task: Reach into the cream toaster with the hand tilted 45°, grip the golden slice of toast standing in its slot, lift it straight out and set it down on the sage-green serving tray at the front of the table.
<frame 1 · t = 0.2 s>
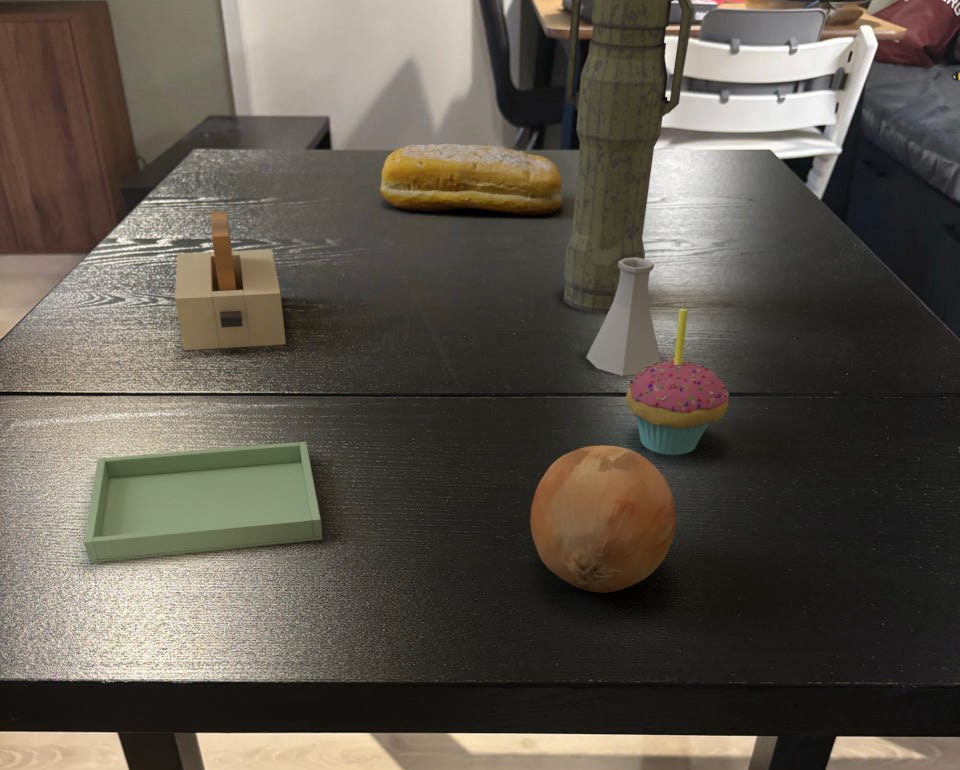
flask: (623, 365, 96), on the table
tray: (208, 510, 72), on the table
toaster: (234, 329, 100), on the table
bread: (470, 209, 139), on the table
toast: (233, 322, 99), point 1 cm above the table, touching toaster
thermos: (600, 303, 109), on the table
onion: (594, 580, 66), on the table
cupcake: (669, 446, 82), on the table
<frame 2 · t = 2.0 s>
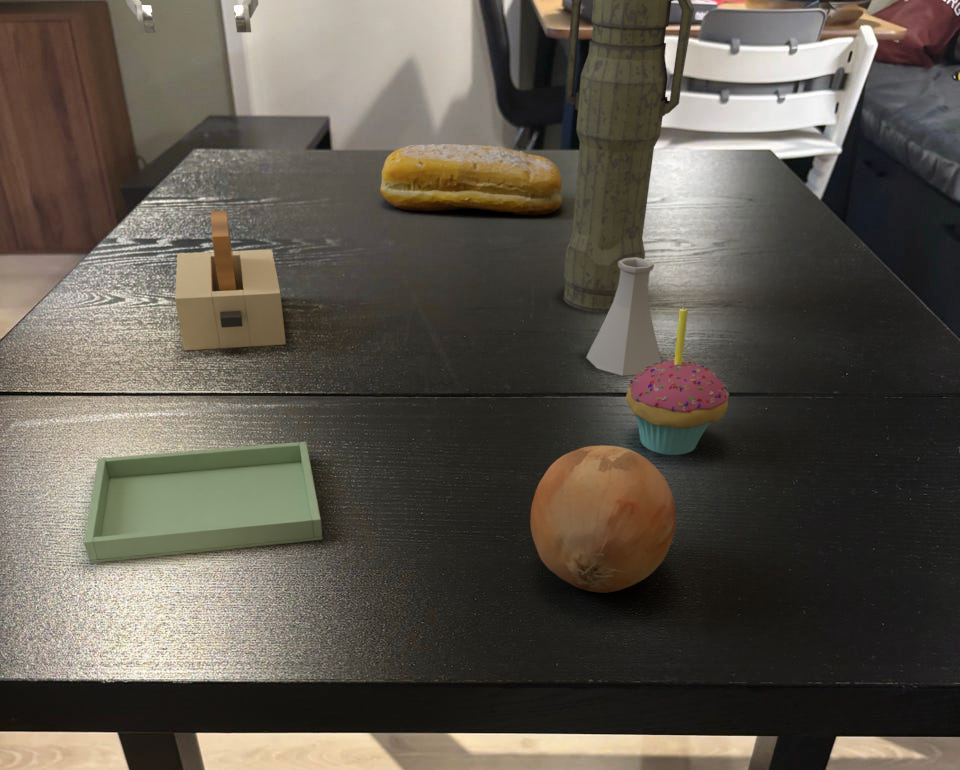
hand: (195, 28, 94), 26 cm above the table, tool tilted 45°, fingers open, 8 cm apart
nothing on the table moved.
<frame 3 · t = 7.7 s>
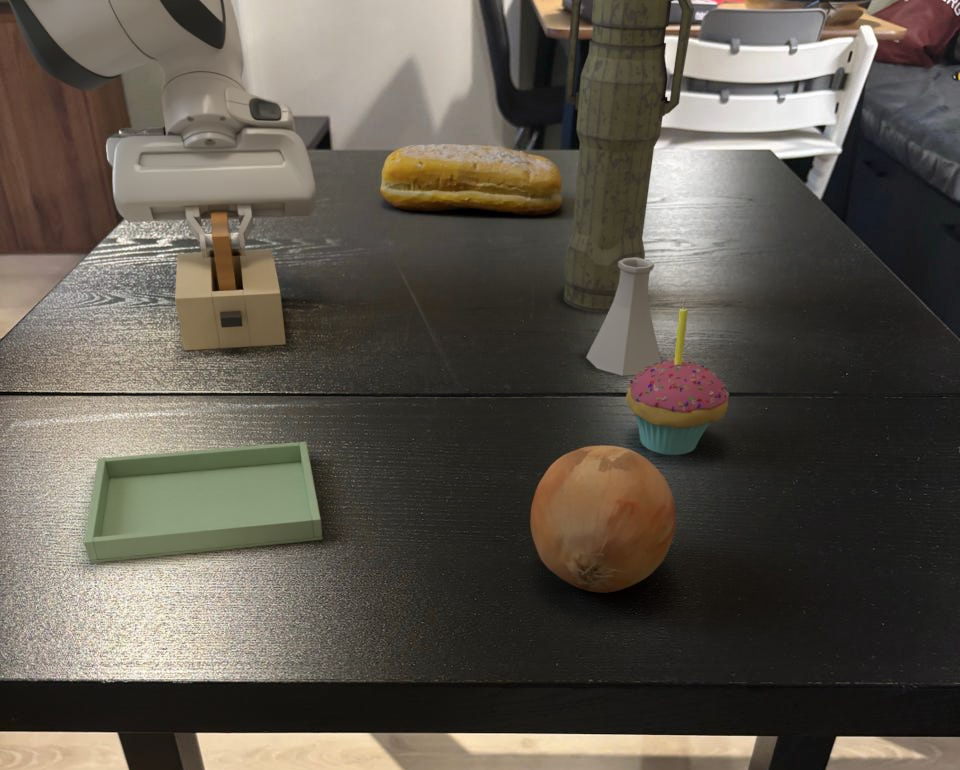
hand: (224, 254, 96), 7 cm above the table, tool tilted 45°, fingers closed on toast, 1 cm apart
toast: (233, 322, 99), point 1 cm above the table, touching gripper, toaster
everything else where it was.
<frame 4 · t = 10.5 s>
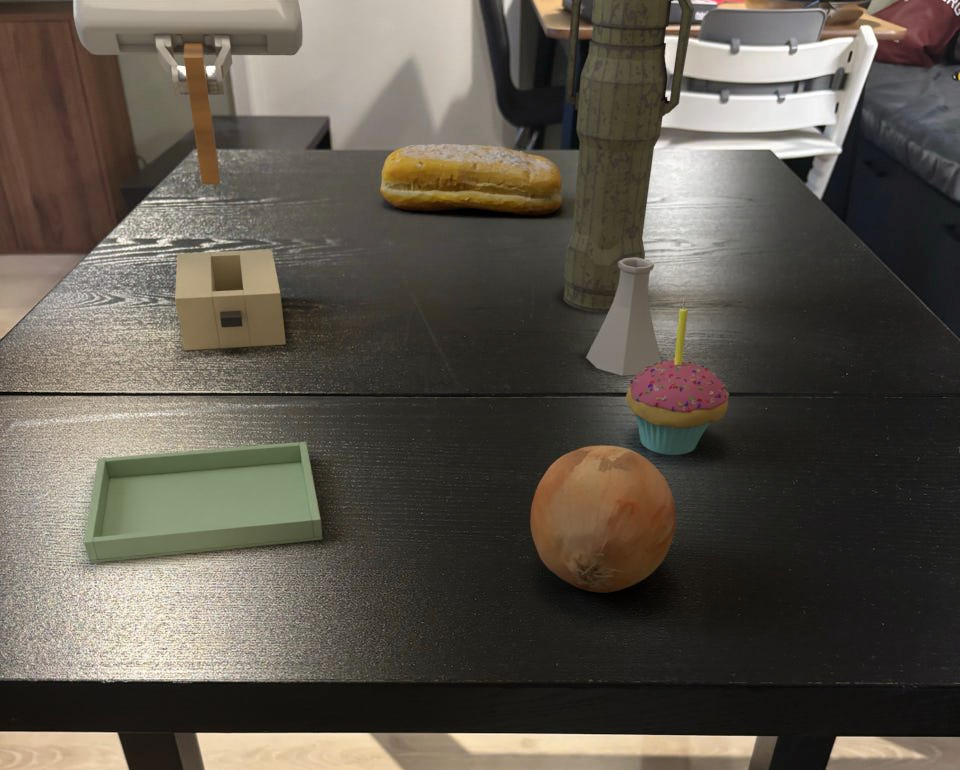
hand: (199, 90, 86), 22 cm above the table, tool tilted 45°, fingers closed on toast
toast: (210, 172, 89), point 16 cm above the table, touching gripper
everything else where it was.
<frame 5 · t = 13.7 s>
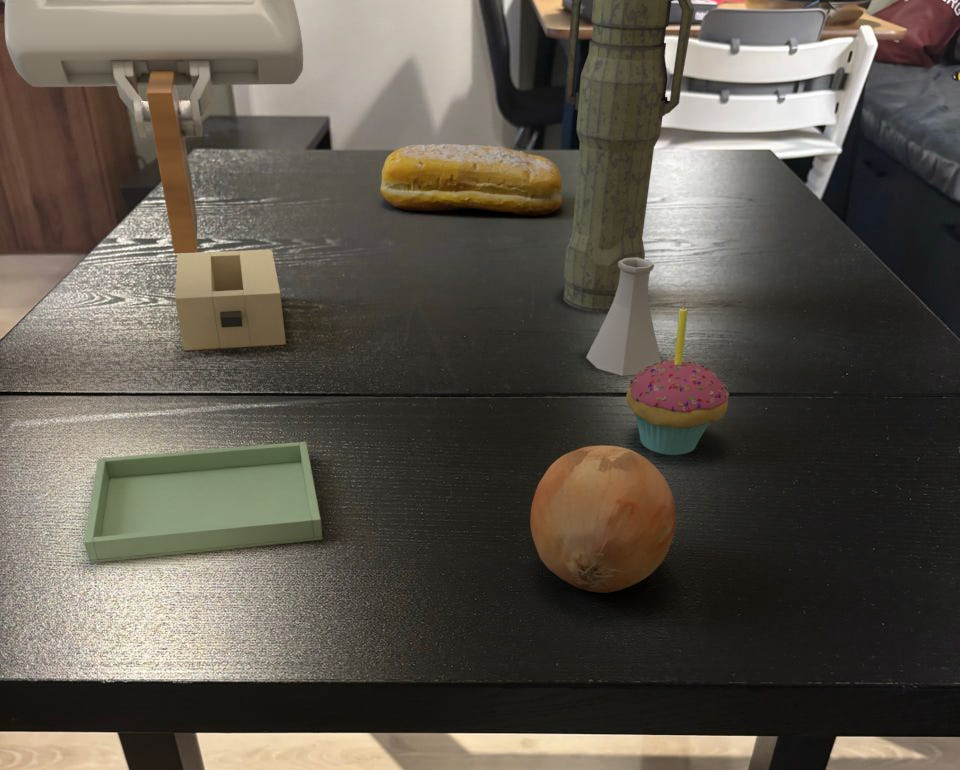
hand: (170, 132, 67), 23 cm above the table, tool tilted 45°, fingers closed on toast
toast: (186, 234, 70), point 17 cm above the table, touching gripper
everything else where it was.
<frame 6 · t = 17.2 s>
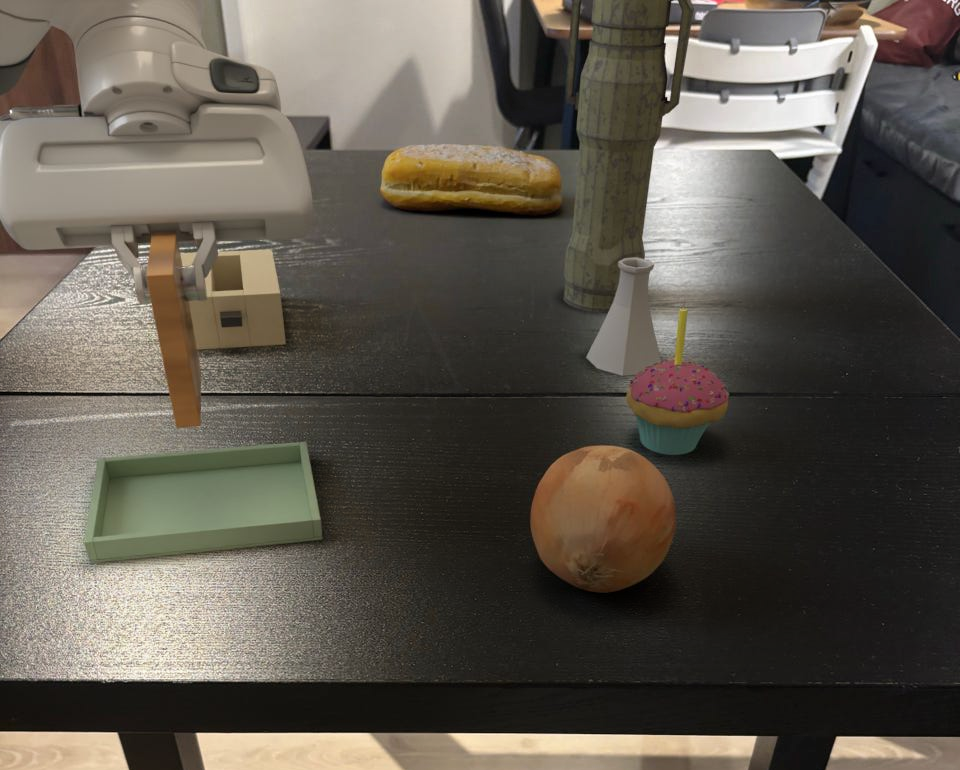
hand: (172, 298, 63), 16 cm above the table, tool tilted 45°, fingers closed on toast
toast: (189, 399, 66), point 9 cm above the table, touching gripper
everything else where it was.
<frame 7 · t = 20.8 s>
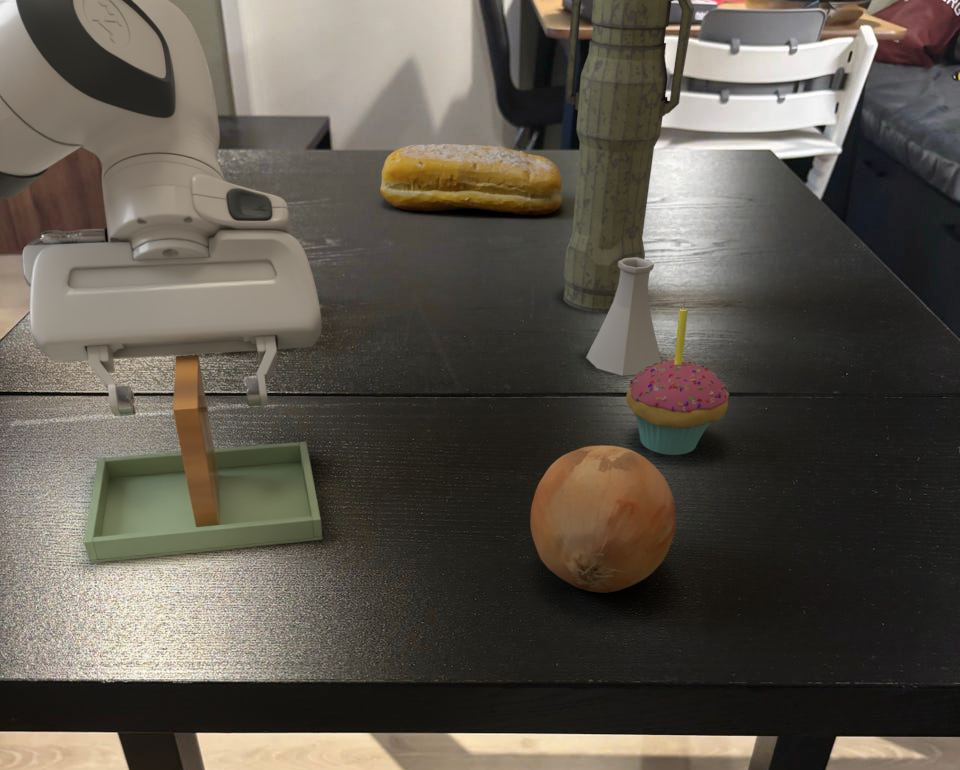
hand: (191, 408, 68), 8 cm above the table, tool tilted 45°, fingers open, 8 cm apart
toast: (208, 505, 71), resting on tray
everything else where it was.
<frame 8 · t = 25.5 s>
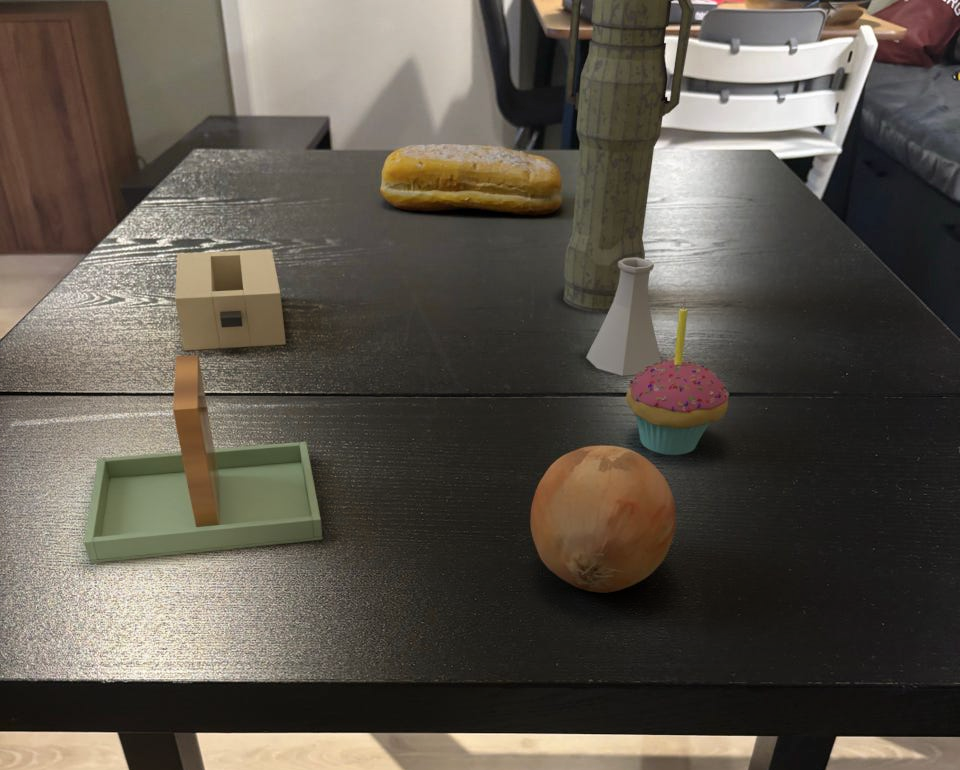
nothing on the table moved.
at the end: toast inside the target area on the tray (0.1 cm from its centre), point 0.5 cm above the tray's base; the gripper is holding nothing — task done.
